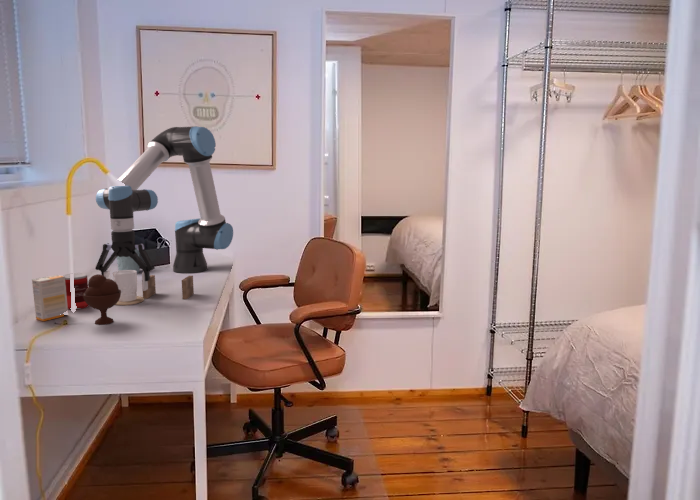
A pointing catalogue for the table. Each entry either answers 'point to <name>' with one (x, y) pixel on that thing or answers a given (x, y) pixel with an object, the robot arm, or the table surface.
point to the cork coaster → (138, 300)
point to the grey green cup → (127, 263)
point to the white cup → (126, 284)
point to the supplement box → (49, 297)
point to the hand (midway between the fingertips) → (126, 289)
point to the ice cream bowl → (102, 296)
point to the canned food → (77, 289)
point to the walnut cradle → (186, 287)
